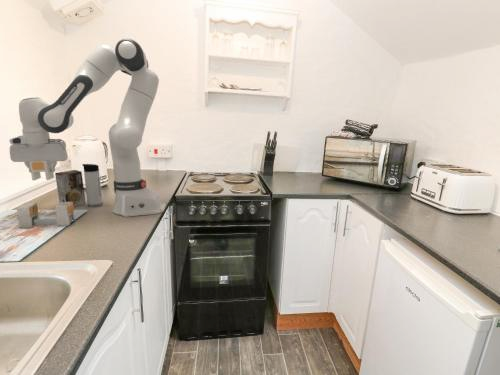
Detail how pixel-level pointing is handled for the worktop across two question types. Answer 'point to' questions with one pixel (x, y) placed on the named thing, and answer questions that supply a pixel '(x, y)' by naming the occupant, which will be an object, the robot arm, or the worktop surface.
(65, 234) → the worktop surface
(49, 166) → the notched cream cube
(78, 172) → the coffee box
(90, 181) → the travel mug
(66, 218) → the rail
